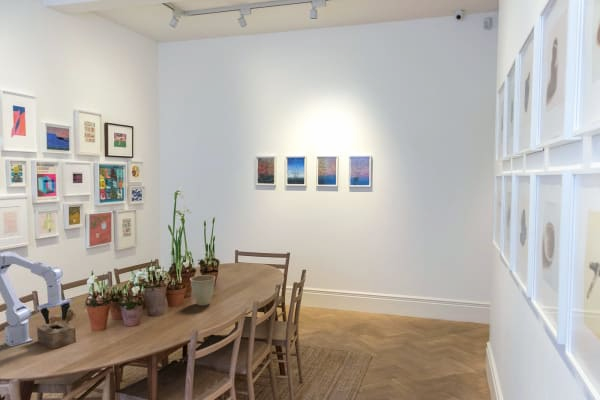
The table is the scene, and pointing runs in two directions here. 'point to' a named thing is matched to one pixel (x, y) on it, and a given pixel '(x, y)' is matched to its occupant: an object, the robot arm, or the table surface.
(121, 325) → the table surface
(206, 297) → the plant pot
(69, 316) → the lion figurine
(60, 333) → the box
